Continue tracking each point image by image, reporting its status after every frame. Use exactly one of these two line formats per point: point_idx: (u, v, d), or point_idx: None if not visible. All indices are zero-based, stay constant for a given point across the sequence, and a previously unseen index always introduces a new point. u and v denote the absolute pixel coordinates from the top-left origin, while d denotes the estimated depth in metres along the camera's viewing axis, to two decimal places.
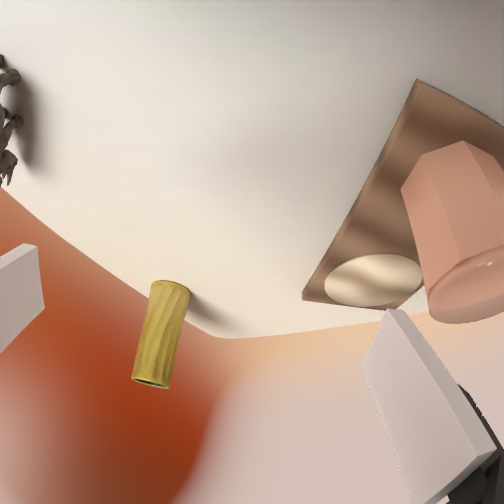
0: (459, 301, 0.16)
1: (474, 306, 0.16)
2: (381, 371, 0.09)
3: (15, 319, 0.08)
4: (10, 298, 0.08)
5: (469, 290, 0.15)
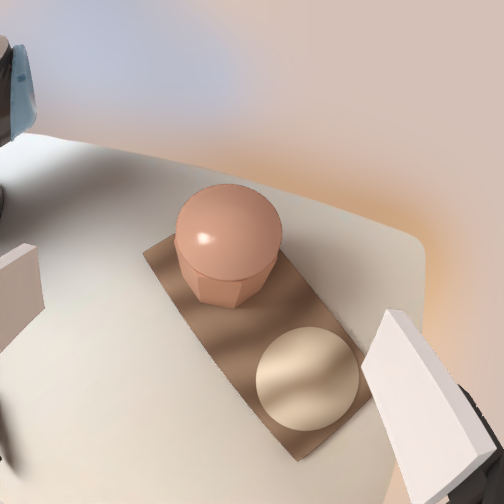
0: (217, 251, 0.25)
1: (240, 242, 0.26)
2: (381, 371, 0.09)
3: (14, 319, 0.08)
4: (10, 298, 0.08)
5: (203, 240, 0.25)
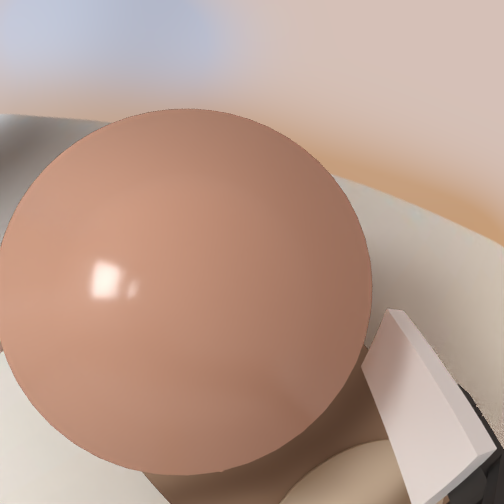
0: (112, 356, 0.05)
1: (208, 316, 0.06)
2: (380, 371, 0.09)
3: None
4: None
5: (67, 305, 0.05)
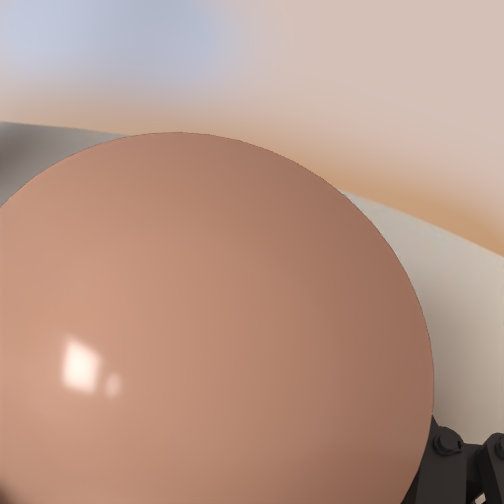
0: None
1: (216, 476, 0.03)
2: None
3: None
4: None
5: (25, 440, 0.03)
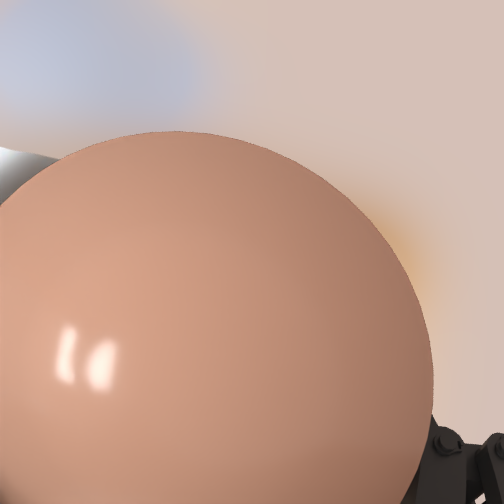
0: None
1: (213, 475, 0.03)
2: None
3: None
4: None
5: (24, 438, 0.03)
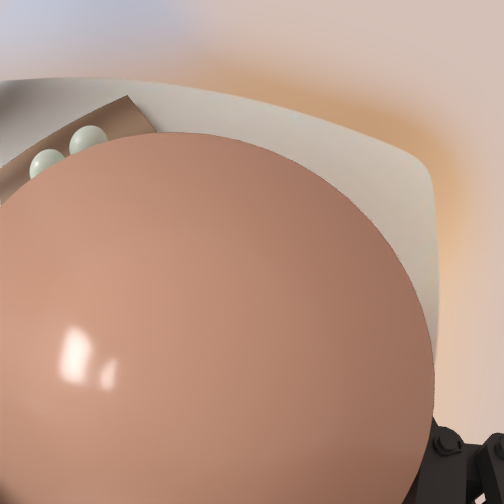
0: None
1: (215, 477, 0.03)
2: None
3: None
4: None
5: (25, 441, 0.03)
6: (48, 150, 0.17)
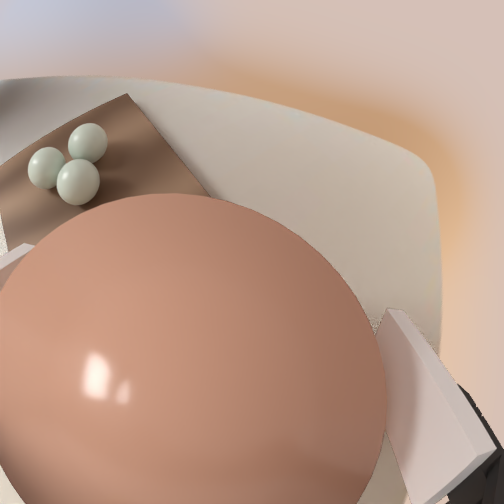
0: (117, 502, 0.04)
1: (210, 474, 0.04)
2: None
3: None
4: None
5: (61, 450, 0.04)
6: (46, 148, 0.16)
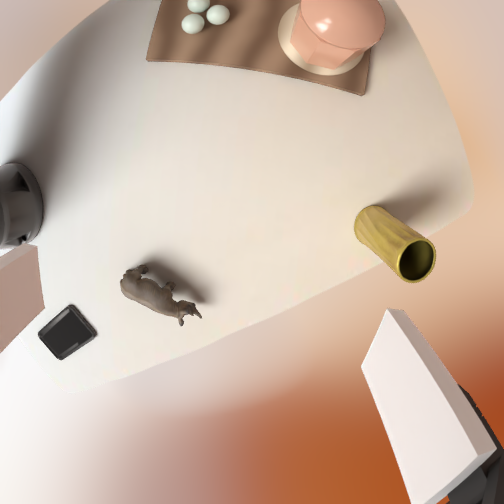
0: (354, 29, 0.23)
1: (359, 15, 0.23)
2: (381, 371, 0.09)
3: (14, 319, 0.08)
4: (10, 298, 0.08)
5: (340, 28, 0.23)
6: (188, 16, 0.29)
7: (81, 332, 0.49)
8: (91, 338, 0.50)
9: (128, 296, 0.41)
